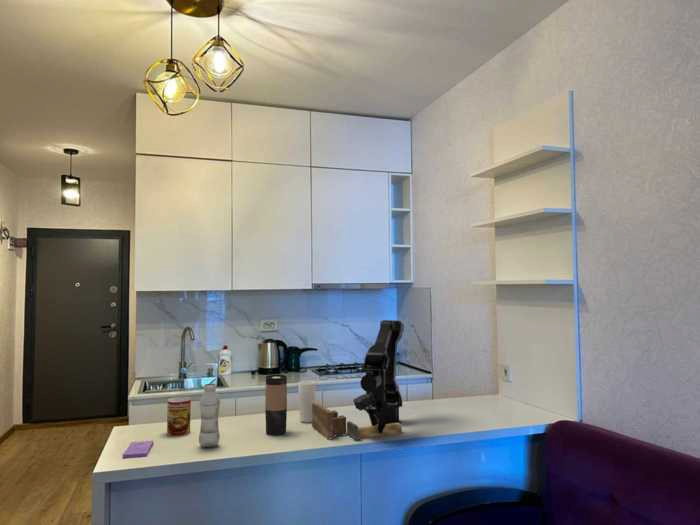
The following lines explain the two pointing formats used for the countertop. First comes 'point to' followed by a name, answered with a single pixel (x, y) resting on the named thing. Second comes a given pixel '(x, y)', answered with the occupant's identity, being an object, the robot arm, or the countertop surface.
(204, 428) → the plastic bottle
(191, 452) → the countertop surface
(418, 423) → the countertop surface
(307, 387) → the white cylinder
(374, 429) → the hammer
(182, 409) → the canned food
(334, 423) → the walnut box
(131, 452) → the sponges
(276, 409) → the travel mug
